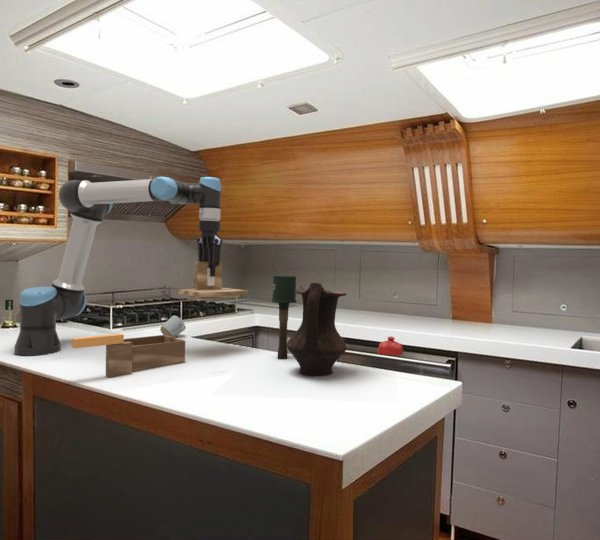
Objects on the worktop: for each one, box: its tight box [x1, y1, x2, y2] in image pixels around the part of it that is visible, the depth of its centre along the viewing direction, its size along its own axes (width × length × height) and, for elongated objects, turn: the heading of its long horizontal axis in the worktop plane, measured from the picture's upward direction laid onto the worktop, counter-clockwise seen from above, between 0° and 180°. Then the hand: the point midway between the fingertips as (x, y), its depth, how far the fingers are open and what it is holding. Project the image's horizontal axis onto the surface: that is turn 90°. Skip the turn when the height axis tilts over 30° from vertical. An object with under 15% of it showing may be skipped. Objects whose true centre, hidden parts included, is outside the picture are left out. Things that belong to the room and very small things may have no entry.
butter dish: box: [376, 336, 404, 356], centre depth 183 cm, size 12×12×8 cm
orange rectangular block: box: [71, 333, 125, 349], centre depth 145 cm, size 2×14×2 cm, turn 133°
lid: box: [176, 261, 250, 300], centre depth 180 cm, size 16×20×12 cm
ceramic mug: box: [160, 315, 187, 338], centre depth 210 cm, size 11×8×8 cm
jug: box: [287, 281, 347, 378], centre depth 151 cm, size 21×18×30 cm
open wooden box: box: [105, 334, 186, 379], centre depth 161 cm, size 16×26×10 cm, turn 133°
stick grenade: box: [270, 274, 297, 360], centre depth 171 cm, size 8×9×30 cm
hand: (208, 285), depth 182 cm, fingers closed on lid, 2 cm apart
